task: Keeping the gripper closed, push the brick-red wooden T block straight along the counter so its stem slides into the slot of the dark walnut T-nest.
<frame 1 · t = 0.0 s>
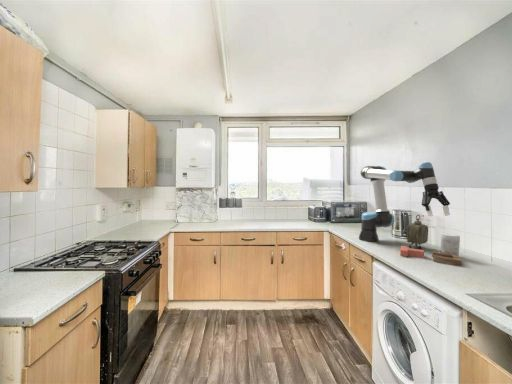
hand: (439, 215, 148), 28 cm above the table, tool tilted 20°, fingers open, 13 cm apart
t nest: (442, 260, 145), on the table
t block: (408, 254, 155), on the table
supplement tub: (449, 256, 154), on the table
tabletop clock: (417, 247, 173), on the table
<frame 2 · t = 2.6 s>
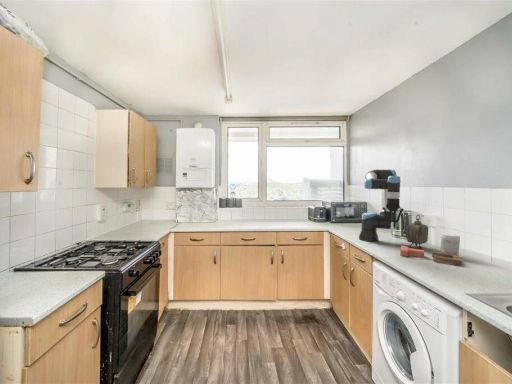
hand: (392, 231, 160), 15 cm above the table, tool pointing down, fingers closed
nothing on the table moved.
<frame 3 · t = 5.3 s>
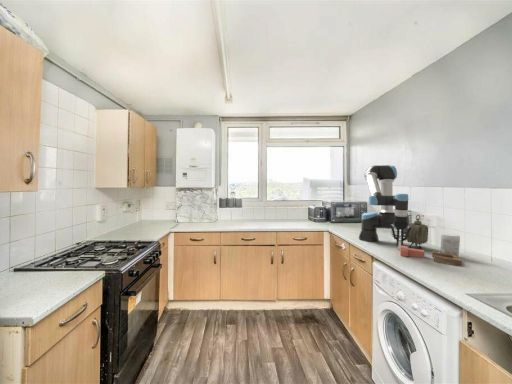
hand: (399, 249, 158), 3 cm above the table, tool pointing down, fingers closed
t block: (409, 254, 155), on the table, touching gripper
everything else where it was.
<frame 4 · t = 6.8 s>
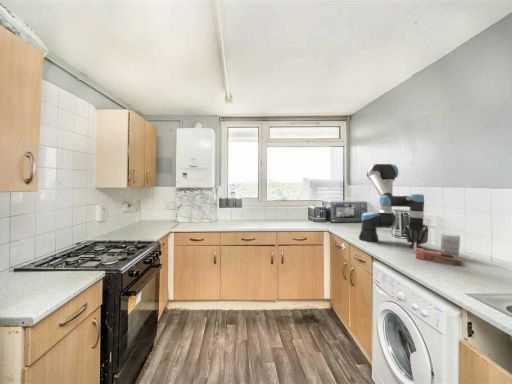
hand: (414, 251, 153), 3 cm above the table, tool pointing down, fingers closed
t block: (424, 257, 150), on the table, touching gripper
everything else where it was.
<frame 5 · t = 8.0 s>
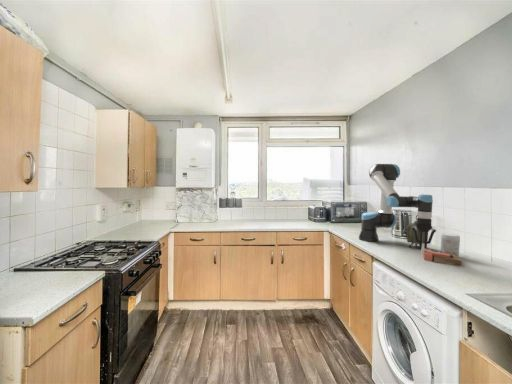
hand: (422, 253, 151), 2 cm above the table, tool pointing down, fingers closed
t block: (433, 258, 148), on the table, touching gripper
everything else where it was.
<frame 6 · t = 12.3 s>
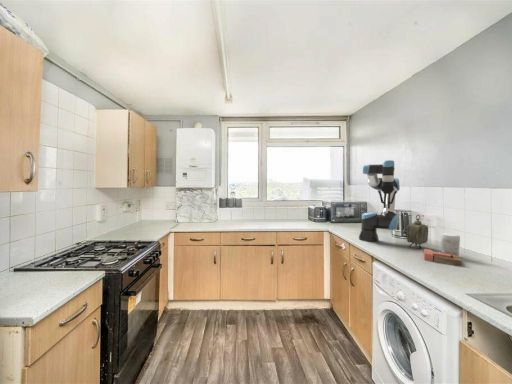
hand: (386, 212, 171), 26 cm above the table, tool pointing down, fingers closed
t block: (433, 258, 148), on the table
everything else where it was.
at the end: t block 0.1 cm from the target spot on the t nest, point 0.0 cm above the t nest's base; t block tilted 0°; supplement tub moved 0.2 cm from its start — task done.
